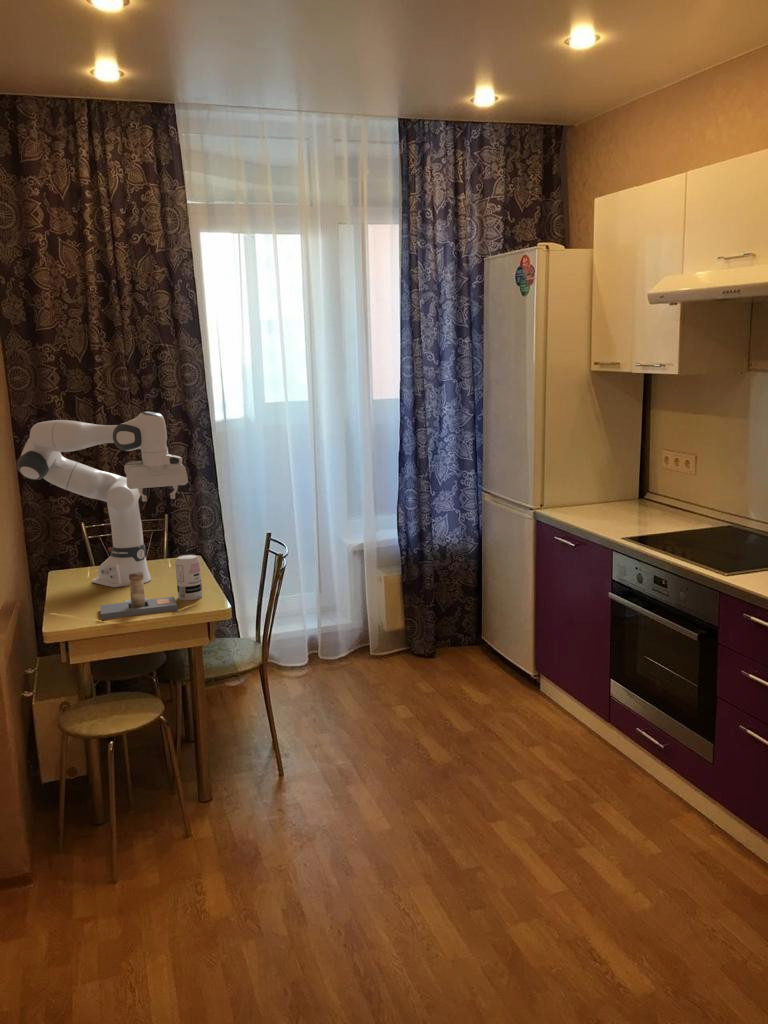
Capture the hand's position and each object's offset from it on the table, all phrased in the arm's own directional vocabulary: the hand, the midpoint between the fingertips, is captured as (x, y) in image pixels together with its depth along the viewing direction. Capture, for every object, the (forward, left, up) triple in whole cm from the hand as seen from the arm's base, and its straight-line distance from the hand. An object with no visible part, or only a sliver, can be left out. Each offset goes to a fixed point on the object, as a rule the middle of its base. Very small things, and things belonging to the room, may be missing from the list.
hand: (158, 499), depth 289 cm
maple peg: (+2, -16, -35) cm, 39 cm away
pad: (-6, -9, -35) cm, 37 cm away
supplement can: (+8, +3, -35) cm, 36 cm away
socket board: (+2, -16, -35) cm, 39 cm away
